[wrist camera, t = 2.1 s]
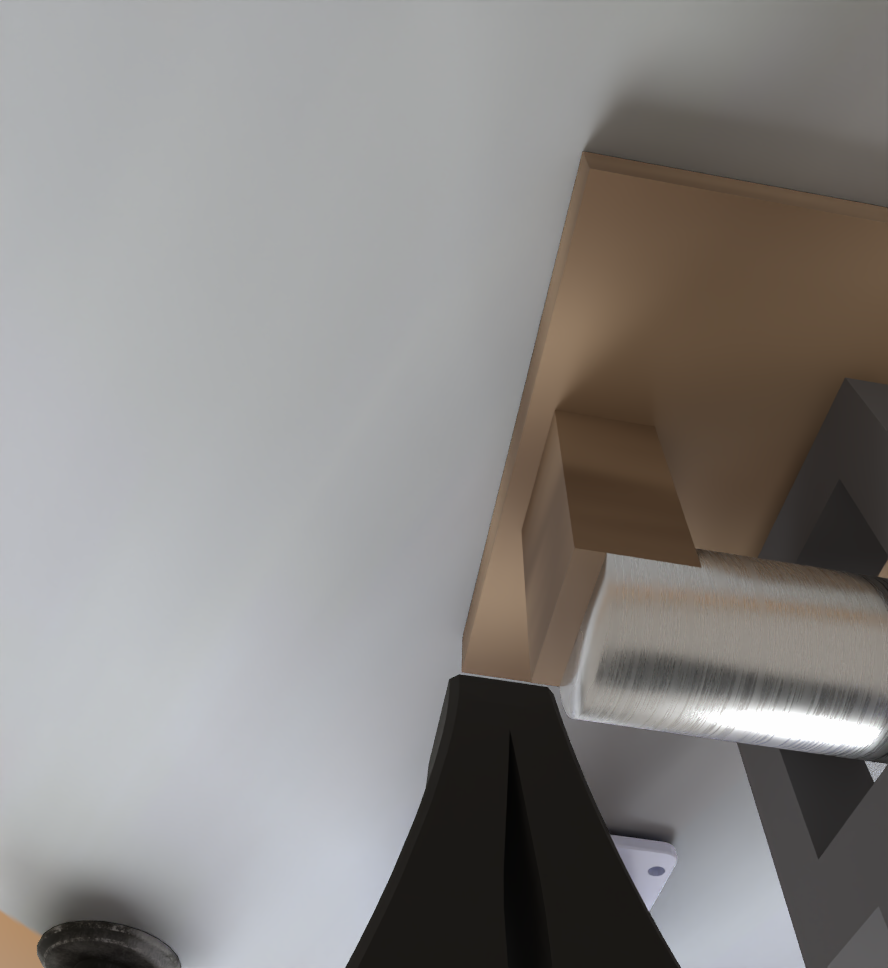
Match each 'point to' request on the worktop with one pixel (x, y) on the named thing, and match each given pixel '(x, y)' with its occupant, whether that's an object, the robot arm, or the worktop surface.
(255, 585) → the worktop surface
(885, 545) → the grey pipe bracket
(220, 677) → the worktop surface
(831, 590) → the pipe stand
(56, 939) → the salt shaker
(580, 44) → the worktop surface
